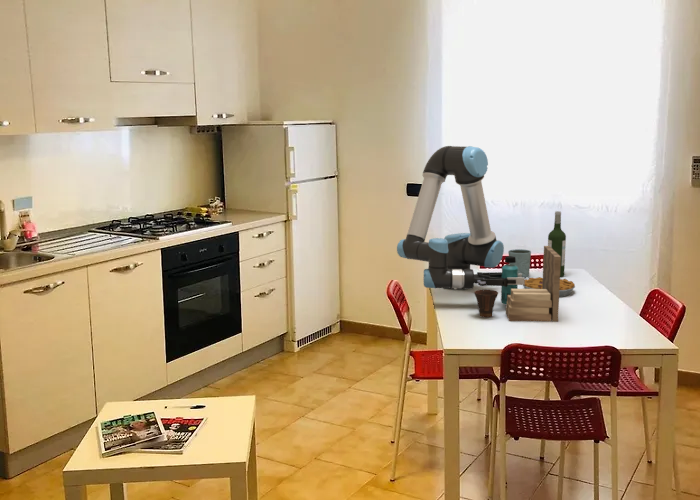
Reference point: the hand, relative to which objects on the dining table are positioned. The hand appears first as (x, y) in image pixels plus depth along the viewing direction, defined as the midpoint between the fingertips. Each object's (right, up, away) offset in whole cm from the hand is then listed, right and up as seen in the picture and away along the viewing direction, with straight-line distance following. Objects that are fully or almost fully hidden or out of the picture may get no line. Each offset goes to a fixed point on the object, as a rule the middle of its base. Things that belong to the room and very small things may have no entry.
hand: (522, 279), depth 290 cm
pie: (+17, -7, +27) cm, 32 cm away
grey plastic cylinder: (+11, -1, +55) cm, 57 cm away
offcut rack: (+1, -13, -7) cm, 14 cm away
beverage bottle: (-5, -11, +2) cm, 12 cm away
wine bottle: (+28, -1, +56) cm, 63 cm away
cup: (-16, -14, -10) cm, 24 cm away
